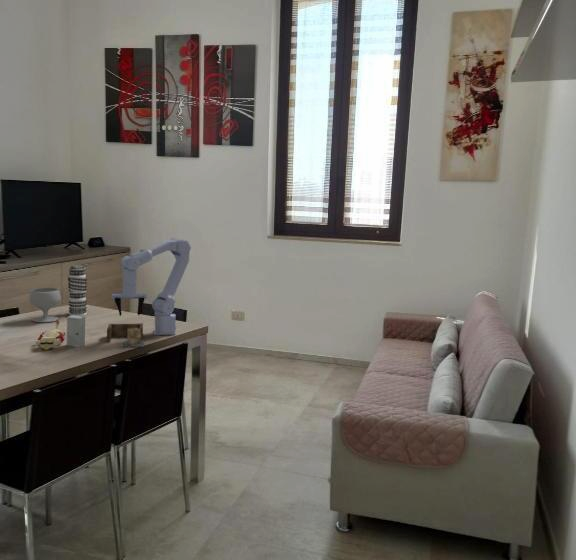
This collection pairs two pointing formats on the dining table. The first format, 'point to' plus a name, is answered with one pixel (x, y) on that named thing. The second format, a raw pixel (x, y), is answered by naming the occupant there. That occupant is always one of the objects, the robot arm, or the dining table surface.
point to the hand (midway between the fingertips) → (129, 315)
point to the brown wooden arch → (122, 330)
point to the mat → (127, 345)
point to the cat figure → (51, 338)
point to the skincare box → (75, 331)
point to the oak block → (134, 336)
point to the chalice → (44, 302)
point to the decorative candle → (77, 290)
